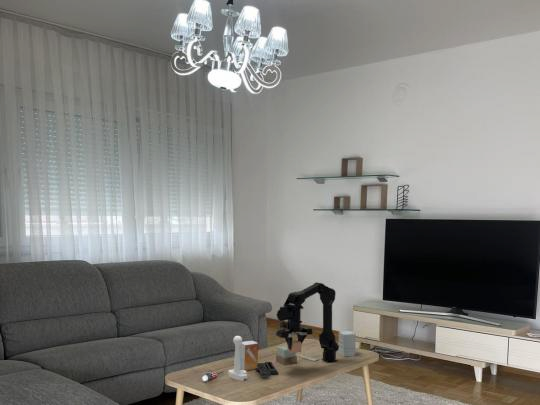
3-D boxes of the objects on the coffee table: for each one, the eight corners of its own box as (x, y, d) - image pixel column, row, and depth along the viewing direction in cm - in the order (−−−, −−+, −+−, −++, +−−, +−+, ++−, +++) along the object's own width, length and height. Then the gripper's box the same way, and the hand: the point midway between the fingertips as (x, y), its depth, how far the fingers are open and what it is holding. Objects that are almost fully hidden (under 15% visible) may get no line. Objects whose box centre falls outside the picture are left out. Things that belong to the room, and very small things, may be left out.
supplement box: (349, 352, 287) (350, 330, 288) (355, 356, 280) (355, 333, 280) (338, 353, 285) (338, 331, 286) (343, 356, 278) (343, 334, 278)
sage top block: (288, 352, 270) (288, 345, 270) (295, 356, 264) (295, 348, 264) (277, 354, 267) (277, 346, 267) (284, 357, 261) (284, 350, 261)
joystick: (226, 375, 242) (227, 334, 242) (238, 372, 247) (239, 331, 247) (240, 381, 234) (241, 338, 234) (252, 378, 238) (253, 336, 239)
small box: (244, 371, 249) (245, 345, 249) (238, 367, 254) (238, 342, 255) (257, 368, 254) (258, 343, 254) (251, 365, 259) (252, 340, 259)
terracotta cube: (295, 349, 255) (295, 339, 255) (301, 352, 250) (301, 342, 250) (287, 350, 252) (287, 340, 252) (292, 353, 248) (293, 343, 248)
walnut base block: (288, 360, 271) (288, 352, 271) (296, 364, 264) (296, 356, 264) (276, 361, 267) (276, 354, 267) (283, 366, 260) (284, 358, 260)
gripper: (301, 313, 263) (300, 343, 263) (270, 316, 254) (270, 347, 253) (313, 317, 254) (312, 348, 253) (282, 321, 244) (281, 353, 244)
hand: (294, 349), depth 251 cm, fingers closed on terracotta cube, 5 cm apart
